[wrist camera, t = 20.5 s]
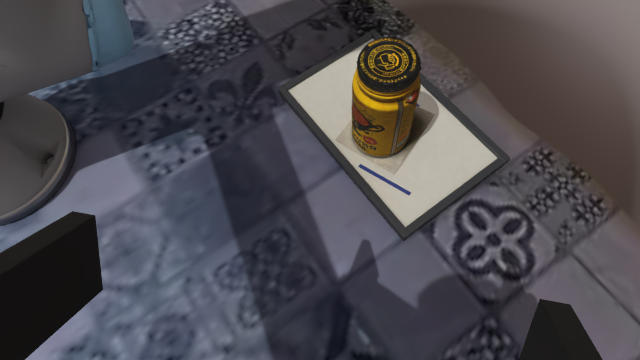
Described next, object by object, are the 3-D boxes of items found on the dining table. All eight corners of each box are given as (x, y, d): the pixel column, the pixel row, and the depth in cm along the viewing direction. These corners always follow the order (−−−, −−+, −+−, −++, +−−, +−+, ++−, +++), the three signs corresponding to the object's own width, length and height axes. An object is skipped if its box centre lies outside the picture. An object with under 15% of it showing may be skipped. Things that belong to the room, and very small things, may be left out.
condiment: (334, 141, 46) (330, 69, 35) (377, 86, 48) (386, 2, 37) (393, 175, 43) (409, 110, 33) (434, 116, 46) (462, 37, 35)
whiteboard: (278, 93, 49) (277, 88, 48) (373, 34, 52) (373, 28, 51) (403, 241, 41) (404, 238, 40) (507, 162, 44) (510, 157, 43)
